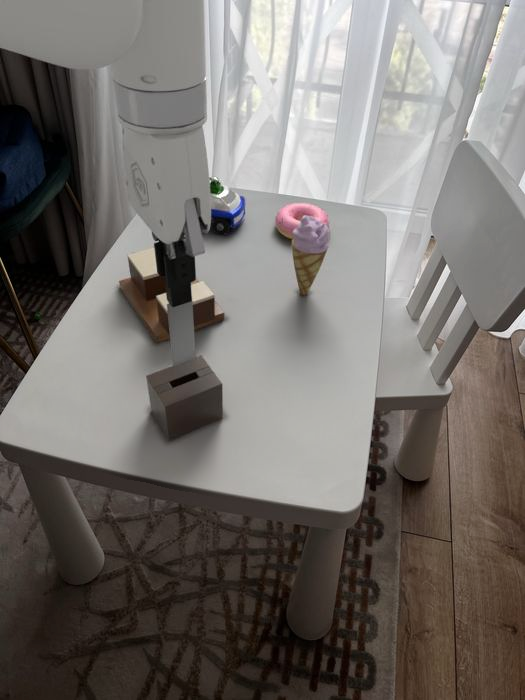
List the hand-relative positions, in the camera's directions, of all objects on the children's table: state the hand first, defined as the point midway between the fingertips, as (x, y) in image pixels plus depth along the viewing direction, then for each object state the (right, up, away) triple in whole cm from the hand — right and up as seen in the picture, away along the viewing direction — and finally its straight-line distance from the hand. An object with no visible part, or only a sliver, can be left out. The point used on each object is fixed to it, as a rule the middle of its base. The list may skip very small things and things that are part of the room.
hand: (176, 276), depth 57 cm
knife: (-1, -10, +9) cm, 13 cm away
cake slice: (-3, -3, +28) cm, 28 cm away
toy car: (0, +19, +53) cm, 56 cm away
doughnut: (+17, +16, +52) cm, 57 cm away
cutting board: (-6, 0, +33) cm, 34 cm away
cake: (-8, +4, +34) cm, 36 cm away
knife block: (-1, -17, +16) cm, 23 cm away
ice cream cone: (+17, +2, +37) cm, 41 cm away
